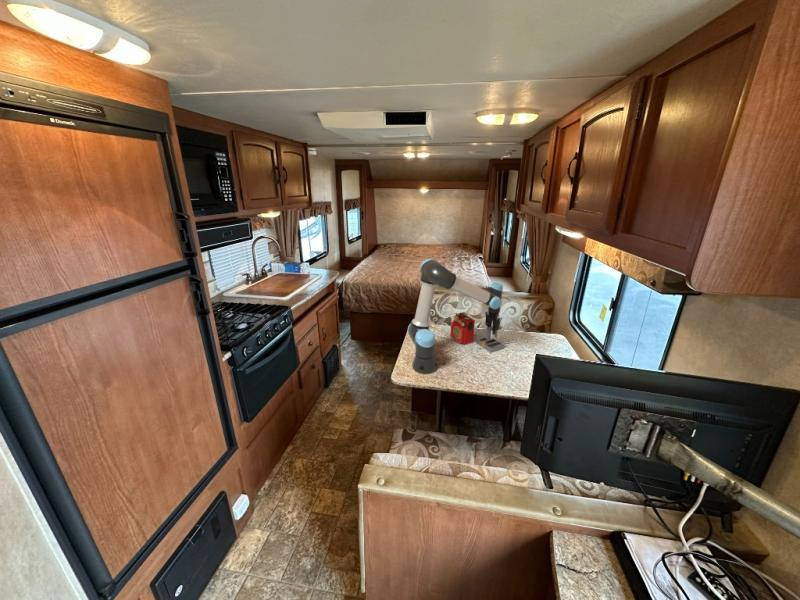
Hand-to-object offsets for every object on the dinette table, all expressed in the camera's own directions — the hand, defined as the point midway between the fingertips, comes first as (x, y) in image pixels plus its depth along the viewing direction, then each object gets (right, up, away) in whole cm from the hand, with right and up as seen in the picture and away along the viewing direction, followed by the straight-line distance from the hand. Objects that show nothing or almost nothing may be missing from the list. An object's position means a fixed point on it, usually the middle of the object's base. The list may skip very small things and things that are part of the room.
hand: (490, 337), depth 212 cm
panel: (0, 0, 0) cm, 0 cm away
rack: (0, -6, +3) cm, 7 cm away
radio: (-18, -4, +11) cm, 21 cm away
